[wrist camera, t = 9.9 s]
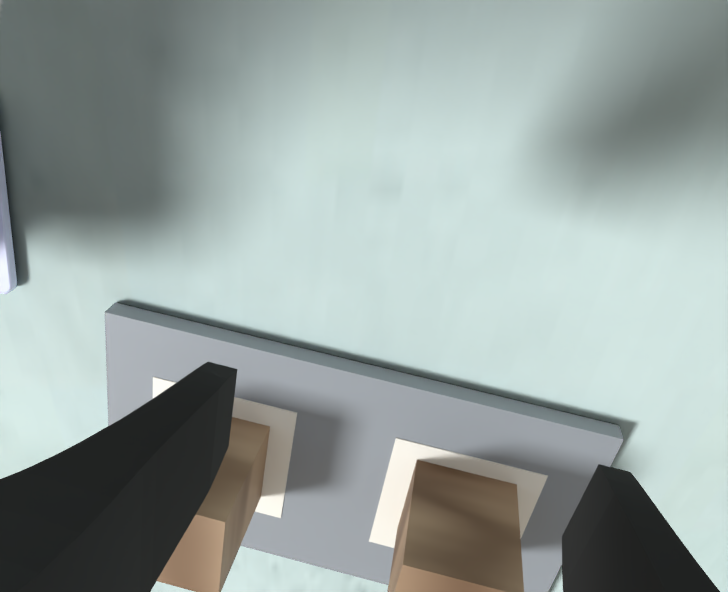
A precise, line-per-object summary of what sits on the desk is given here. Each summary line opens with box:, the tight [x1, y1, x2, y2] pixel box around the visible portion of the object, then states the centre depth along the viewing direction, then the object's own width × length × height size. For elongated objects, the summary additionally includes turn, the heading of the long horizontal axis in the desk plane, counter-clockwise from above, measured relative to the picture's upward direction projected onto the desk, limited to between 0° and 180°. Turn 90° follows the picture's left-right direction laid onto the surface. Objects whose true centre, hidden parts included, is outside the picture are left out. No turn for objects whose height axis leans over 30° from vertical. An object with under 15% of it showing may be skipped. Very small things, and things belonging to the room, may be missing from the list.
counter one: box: [157, 417, 270, 592], centre depth 24 cm, size 4×4×5 cm
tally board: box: [105, 303, 624, 592], centre depth 26 cm, size 20×11×1 cm, turn 79°
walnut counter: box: [388, 460, 524, 592], centre depth 23 cm, size 4×4×5 cm
